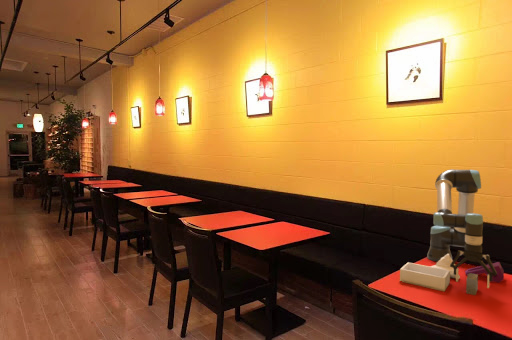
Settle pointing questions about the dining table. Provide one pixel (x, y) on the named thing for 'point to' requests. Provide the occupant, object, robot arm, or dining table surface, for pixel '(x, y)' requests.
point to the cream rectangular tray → (425, 276)
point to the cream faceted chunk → (446, 265)
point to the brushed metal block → (472, 284)
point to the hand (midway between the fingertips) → (472, 284)
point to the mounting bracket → (480, 270)
